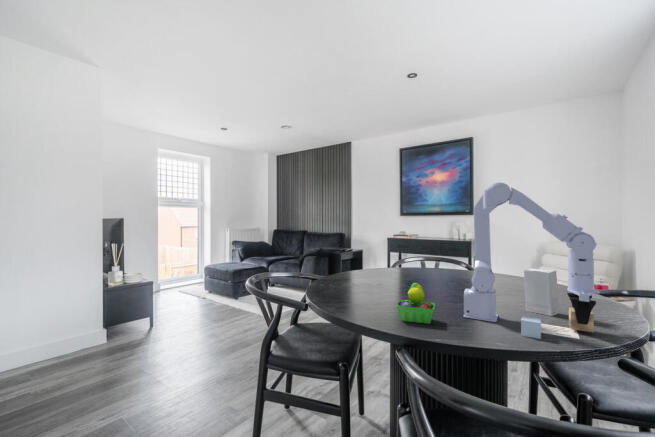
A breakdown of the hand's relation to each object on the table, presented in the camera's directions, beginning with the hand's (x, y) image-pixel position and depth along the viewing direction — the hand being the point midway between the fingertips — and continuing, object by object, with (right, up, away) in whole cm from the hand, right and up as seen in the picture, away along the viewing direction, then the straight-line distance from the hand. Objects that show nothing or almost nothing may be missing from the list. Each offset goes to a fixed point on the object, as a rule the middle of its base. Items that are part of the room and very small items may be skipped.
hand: (580, 321), depth 88 cm
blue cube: (-16, -3, -3) cm, 17 cm away
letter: (-8, -3, +1) cm, 8 cm away
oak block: (0, -2, 0) cm, 2 cm away
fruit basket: (-44, -3, +11) cm, 46 cm away
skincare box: (+1, -3, +18) cm, 19 cm away
